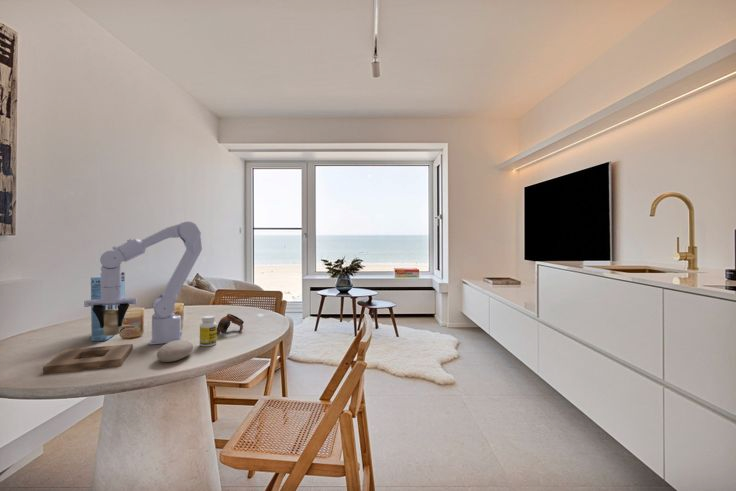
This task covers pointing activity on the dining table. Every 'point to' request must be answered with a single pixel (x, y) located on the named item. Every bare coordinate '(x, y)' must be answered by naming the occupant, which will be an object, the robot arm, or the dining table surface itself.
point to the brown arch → (225, 323)
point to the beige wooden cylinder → (111, 322)
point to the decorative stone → (174, 350)
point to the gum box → (96, 294)
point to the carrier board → (88, 358)
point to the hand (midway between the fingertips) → (111, 326)
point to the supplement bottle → (208, 331)
